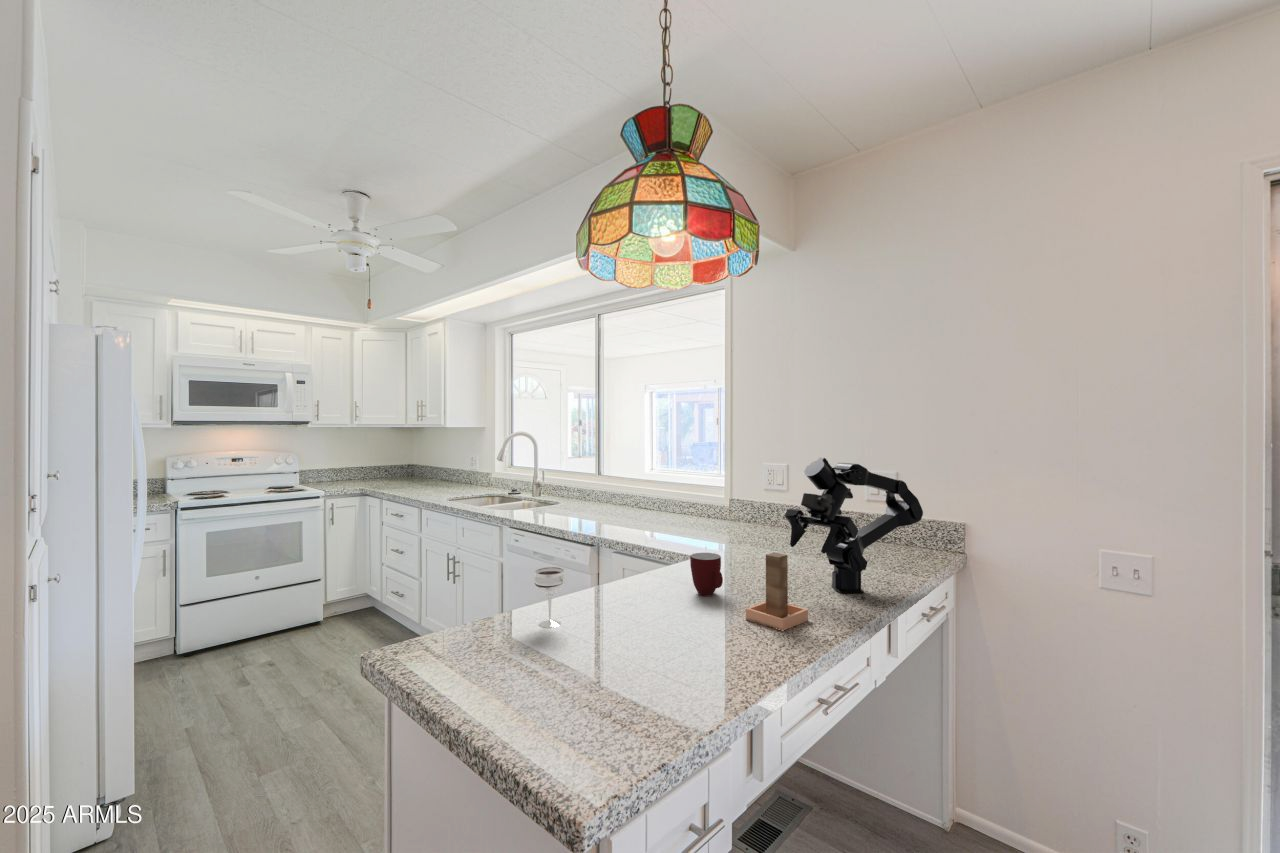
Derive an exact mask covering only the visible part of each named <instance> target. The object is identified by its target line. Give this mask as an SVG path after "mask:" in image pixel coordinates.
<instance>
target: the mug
mask: <svg viewBox="0 0 1280 853" xmlns="http://www.w3.org/2000/svg"><path fill="white" fill-rule="evenodd" d="M689 561H690V562H689V563H690V565H689V566H690V571H691V572H690V573H691V576H692V583H693V585H694V588H695V590H696V591H697V594H698V595H700V596H706V597H707V596H713V595H714V594H715V592H716V590H717V589H719V588H721V587H722V585H723V581H724V579H723V574H722V571H721V569H722V556H721V555H720V554H717V553H712V552H696V553H692V554H690V560H689Z"/></svg>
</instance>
